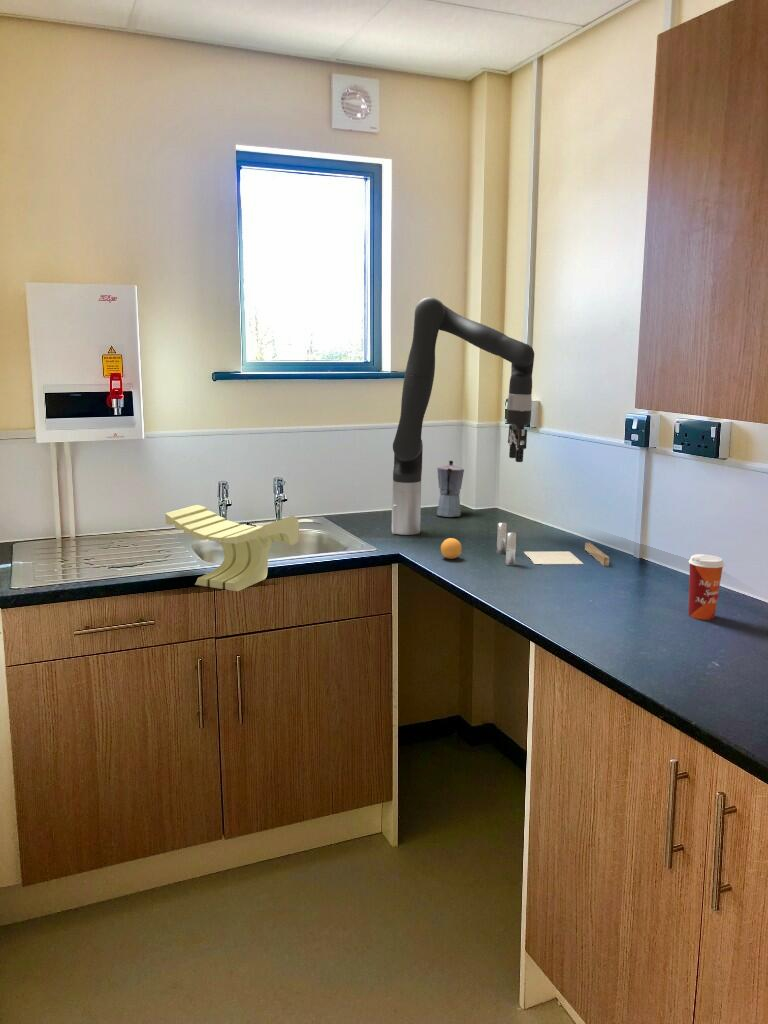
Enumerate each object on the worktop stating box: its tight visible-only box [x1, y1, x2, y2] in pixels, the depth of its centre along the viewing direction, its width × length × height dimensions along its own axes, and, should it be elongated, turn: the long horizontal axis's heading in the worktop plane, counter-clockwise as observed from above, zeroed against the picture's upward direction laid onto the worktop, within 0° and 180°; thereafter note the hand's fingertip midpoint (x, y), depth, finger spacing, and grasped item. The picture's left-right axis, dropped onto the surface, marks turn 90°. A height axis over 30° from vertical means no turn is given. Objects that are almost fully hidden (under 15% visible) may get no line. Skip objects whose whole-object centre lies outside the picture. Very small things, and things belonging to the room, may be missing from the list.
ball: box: [440, 537, 463, 560], centre depth 241 cm, size 6×6×6 cm
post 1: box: [496, 521, 508, 555], centre depth 248 cm, size 3×3×9 cm
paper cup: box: [688, 553, 725, 621], centre depth 192 cm, size 8×8×14 cm
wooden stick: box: [584, 541, 610, 567], centre depth 244 cm, size 2×18×2 cm, turn 3°
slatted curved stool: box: [165, 504, 300, 592], centre depth 216 cm, size 30×16×18 cm, turn 65°
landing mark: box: [523, 550, 584, 565], centre depth 244 cm, size 14×14×1 cm
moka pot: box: [436, 460, 465, 518], centre depth 299 cm, size 10×15×20 cm, turn 174°
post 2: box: [505, 531, 517, 566], centre depth 236 cm, size 3×3×9 cm
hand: (515, 459), depth 264 cm, fingers open, 8 cm apart
